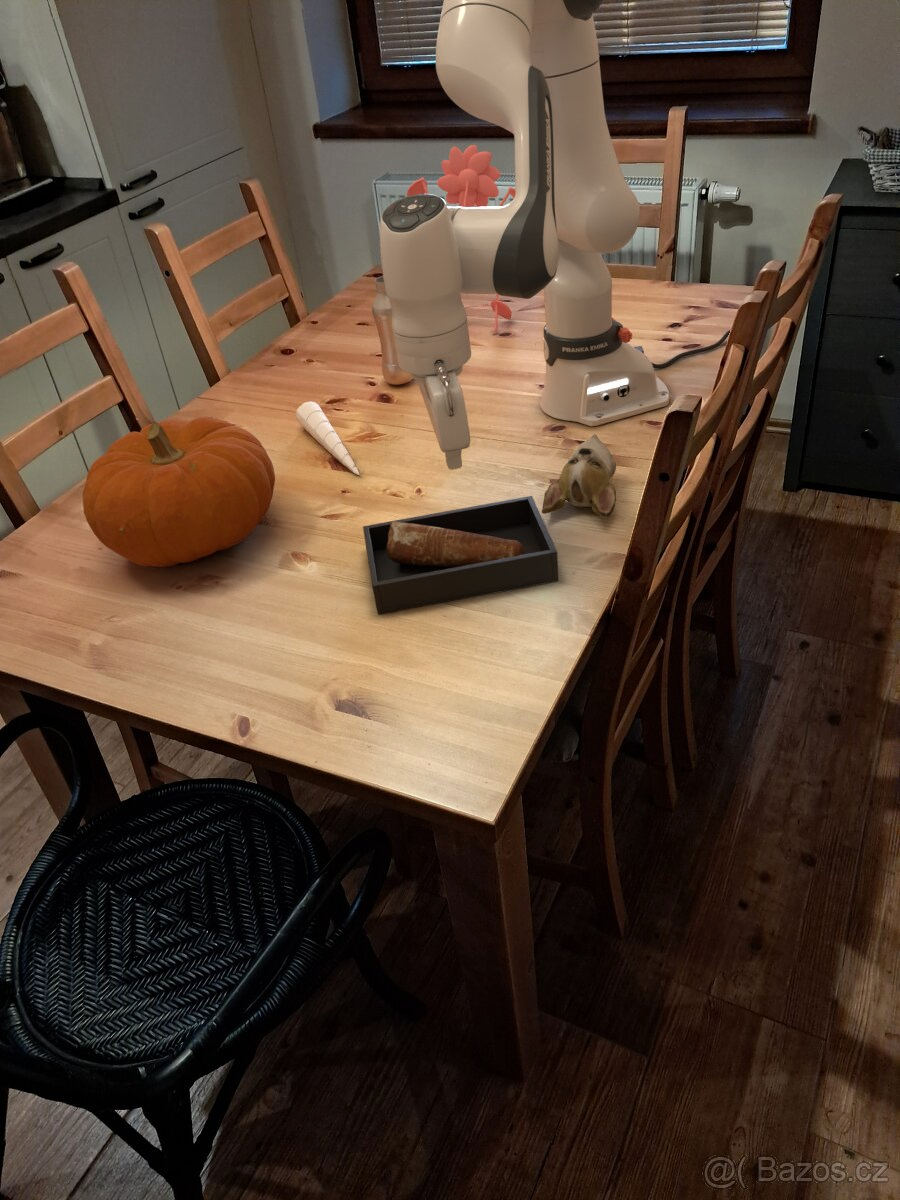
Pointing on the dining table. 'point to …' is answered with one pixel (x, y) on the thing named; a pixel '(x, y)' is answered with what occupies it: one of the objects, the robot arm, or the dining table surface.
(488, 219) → the robot arm
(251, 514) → the pumpkin
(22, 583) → the dining table surface
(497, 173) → the figurine
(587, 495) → the ceramic sculpture
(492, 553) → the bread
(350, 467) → the unicorn horn
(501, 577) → the tray
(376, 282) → the plastic bottle
